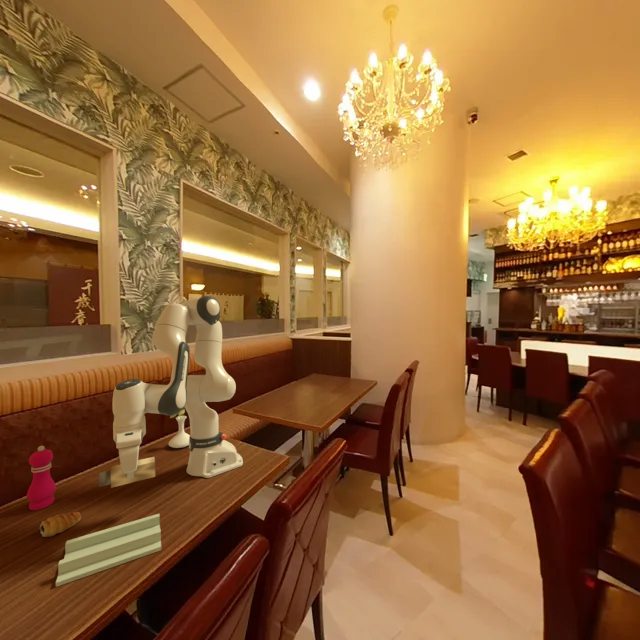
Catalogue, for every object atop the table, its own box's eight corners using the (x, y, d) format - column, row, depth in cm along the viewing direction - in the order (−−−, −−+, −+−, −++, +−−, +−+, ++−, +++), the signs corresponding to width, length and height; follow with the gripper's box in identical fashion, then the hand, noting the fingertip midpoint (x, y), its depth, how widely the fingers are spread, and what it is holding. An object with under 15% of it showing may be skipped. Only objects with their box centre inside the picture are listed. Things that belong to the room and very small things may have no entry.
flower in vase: (185, 438, 156) (185, 390, 156) (198, 443, 150) (198, 394, 149) (160, 447, 146) (160, 396, 145) (173, 453, 139) (172, 400, 139)
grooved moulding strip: (159, 520, 94) (159, 508, 94) (161, 550, 82) (161, 537, 82) (68, 547, 83) (68, 534, 83) (55, 587, 71) (55, 572, 71)
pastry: (76, 514, 97) (76, 503, 97) (84, 522, 93) (84, 510, 93) (37, 531, 89) (37, 519, 89) (44, 541, 85) (44, 528, 85)
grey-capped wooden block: (154, 471, 102) (154, 456, 102) (155, 476, 99) (154, 461, 99) (100, 484, 95) (100, 468, 94) (99, 490, 91) (98, 474, 91)
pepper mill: (39, 498, 105) (38, 441, 105) (61, 497, 106) (60, 441, 105) (20, 512, 98) (19, 451, 97) (44, 510, 98) (43, 450, 98)
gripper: (120, 422, 104) (121, 461, 104) (115, 445, 86) (117, 492, 87) (141, 419, 107) (142, 457, 107) (141, 440, 89) (142, 486, 90)
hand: (131, 473), depth 97 cm, fingers closed on grey-capped wooden block, 4 cm apart
